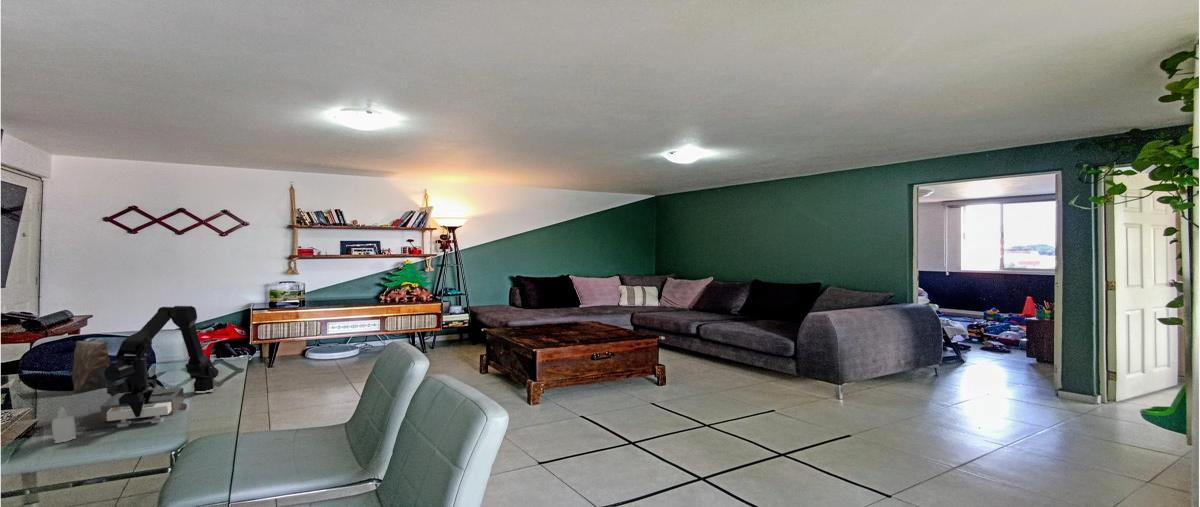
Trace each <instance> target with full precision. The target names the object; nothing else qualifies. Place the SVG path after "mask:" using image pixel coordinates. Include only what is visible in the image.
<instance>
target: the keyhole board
mask: <svg viewBox="0 0 1200 507" xmlns="http://www.w3.org/2000/svg"><path fill="white" fill-rule="evenodd" d="M153 390H154V391H153V393H152V395H151V397H150V400H149V402H148V404H156V403H166V402H171V408H172V410H171V412H170V413H169V415H174V414H176V412H178V410H179V409H180V408H181V406H182V405H183V404H184V403H183V401H184V402H185V397H184V396H185V395H184V387H183V386H182V387H173V388H172V387H171V388H162V389H160V388H159V389H153ZM128 393H131V392H128ZM124 394H125V392H121V393H118V394H116V395H115V396H110V398H109V399H107V400H106V401H105V402H104V403H103V404H101V405H100V416H101V417H100V418H101V423H106V422H108V421H107V413H106V412H108V411H109V410H110V409H111V408H116V407H127V406H130V405H128V404H122V405H119V400H118V399H119V398H120V397H121V396H123V395H124ZM182 403H183V404H182ZM181 404H182V405H181Z"/></svg>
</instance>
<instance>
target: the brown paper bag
mask: <svg viewBox="0 0 1200 507" xmlns="http://www.w3.org/2000/svg"><path fill="white" fill-rule="evenodd" d="M110 362H111V359H110V357H109V351H108V342H106V341H103V340H100V339H99V340H94V341H93V340H91V341H90V340H89V341H84V340H76V341H75V348H74V353H73V366H72V373H71V381H72V385H73V393H74V395H80V394H84V393H87V392H88V393H89V392H92V391H98V390H102V389H105V388H108V386H109V385H108V383H109V381H108V380H107V379H106V378H105V376H104V372H105V369H106V368H107V367H109V363H110Z"/></svg>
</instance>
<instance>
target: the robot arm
mask: <svg viewBox="0 0 1200 507" xmlns="http://www.w3.org/2000/svg"><path fill="white" fill-rule="evenodd" d="M197 319H198V314H197V309H196V307H195V306H192V305H174V306H161V307H159V308H158V309H157V312H156V313H155V314H154V315H153V316H152V317H151V318H150V319H149V320H148V322H146V324H145V325H144V326H143V327H142V328H141V329H140V330H139V331H137V332H135V333H133V334H130V335H129V336H128V337H126V338H125V339H124V340H123V341H122V342H121V344H120V347H119V349H118V351H117V353H116V354H115V357H114V361H110V363H109V366H108V367H107V368H106V369H105V372H104V376H105V378H106V379H107V380H108V382H110V383H113V384H111V385H108V387H106V388H107V389H106V394H107V395H109V396H110V397H112V396H115V395H116V394H118V393H125V394H124V395H123V396H121V397H120V398H119V399H118V400H119V405H122V404H128V405H130V407H131V409H132V411H133V413H134V415H135V417H139V416H140V414H141V411H142V408H143V405H146V404H148V402H149V400H150V397H151V395H152V393H153V391H154V390H155V388H157V386H158V384H157V383H158V382H157V381H156V380H155V379H148V377H149V376H150V372H148V371H147V370H148V369H147V359H149V358H150V357H151V355H150V354H148V353H147V352H148V351H149V349H150V348H151V346H152V344H153V340H154V337H156V335H157V334H158V333H159V332H160V331H161V330H162V329H163V327H165V325H166V324H167V323H168V322H169V321H170V320H171V321H172V323H173V324H174V325H175V326H177V327H178V328H179V329H180V332H181V336H182V339H183V341H184V344H185V347H186V351H187V354H188V357H189V360H188V361H187V363H186V364H185V368H186V372H187V373H188V375H189V377H190V379H194V382H193V391H194V392H195V391H206V390H210V389H213V388H214V387H216V384H215V383H216V382H215V381H216V380H215V378H217V377H218V376H219V373H220V372H219V369H218V368H216V366H214V365H213V362H212V360H211V359H210V358H209V357H208V356H207V355H206V354H204V351H203V346H202V344H201V340H200V337H199V335H198V332H197V331H198V330H197V328H196V322H197ZM123 379H124V380H123ZM121 380H122V381H121ZM115 382H116V383H115ZM150 387H151V388H152V389H149V388H150ZM129 392H131V393H129Z"/></svg>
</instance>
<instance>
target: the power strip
mask: <svg viewBox="0 0 1200 507" xmlns="http://www.w3.org/2000/svg"><path fill="white" fill-rule="evenodd" d="M171 410H172V408H171V402H165V403H155V404H146V405H143V408H142V411H141V414H140V416H139V417H135V415H134V413H133V411H132V409H131V407H130V406H126V407H116V408H111V409H110V410H109V411H108V412H106V413H107V421H106V422H111V421H119V422H118V423H117V424H116V425H117V426H116V427H117V428H125V427H126V428H127V427H129V425H130V424H132V423H131V419H138V418H146V417H147V418H148V417H153V418H152V419H151V420H150V423H151V424H160V423H162V422H163V421H164V416H167V415H170V412H171ZM129 419H130V420H129Z"/></svg>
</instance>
